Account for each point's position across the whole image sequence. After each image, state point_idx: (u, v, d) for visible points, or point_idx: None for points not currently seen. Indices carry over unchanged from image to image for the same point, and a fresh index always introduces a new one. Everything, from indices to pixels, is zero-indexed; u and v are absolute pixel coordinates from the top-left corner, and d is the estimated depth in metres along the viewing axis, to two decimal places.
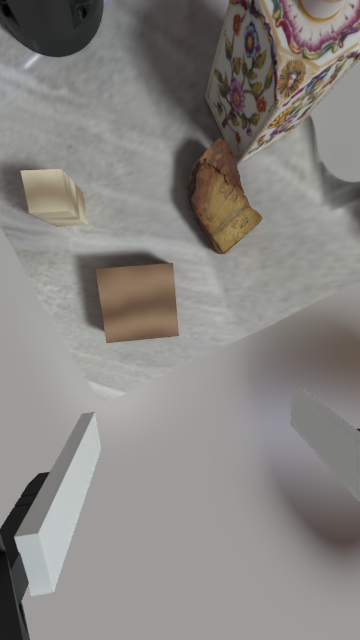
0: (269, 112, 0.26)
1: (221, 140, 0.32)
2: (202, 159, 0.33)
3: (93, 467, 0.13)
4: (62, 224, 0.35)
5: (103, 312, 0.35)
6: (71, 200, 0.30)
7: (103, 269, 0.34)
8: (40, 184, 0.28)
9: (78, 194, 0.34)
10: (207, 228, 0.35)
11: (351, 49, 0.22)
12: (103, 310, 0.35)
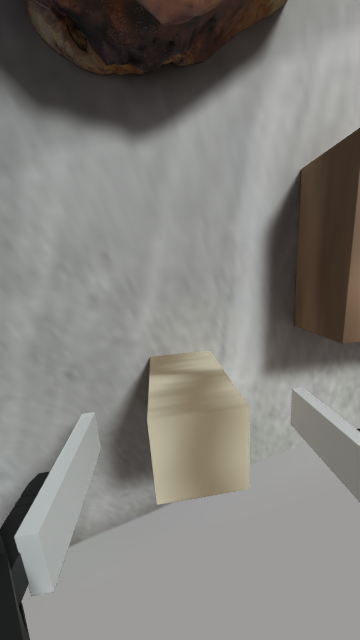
0: None
1: None
2: None
3: (93, 467, 0.13)
4: None
5: None
6: (203, 392, 0.12)
7: (347, 324, 0.14)
8: (185, 467, 0.11)
9: (166, 368, 0.16)
10: None
11: None
12: None
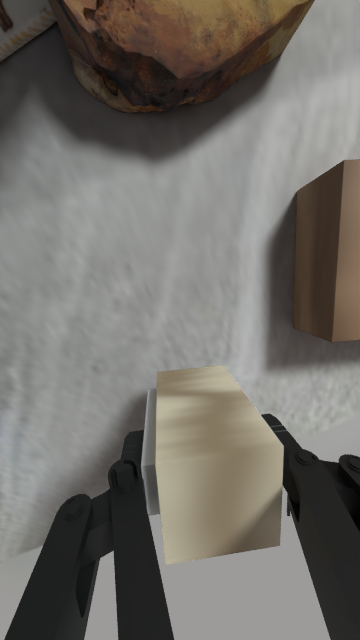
0: None
1: None
2: (87, 22, 0.12)
3: None
4: None
5: None
6: (223, 422, 0.10)
7: (335, 325, 0.16)
8: (201, 519, 0.09)
9: (176, 387, 0.14)
10: (251, 37, 0.13)
11: None
12: None
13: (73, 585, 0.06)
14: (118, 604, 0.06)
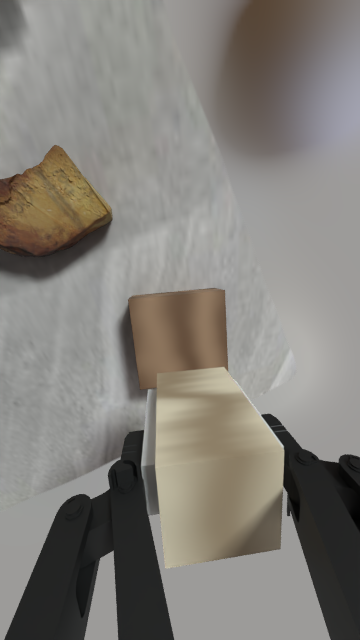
0: None
1: None
2: None
3: None
4: None
5: None
6: (223, 425, 0.10)
7: (140, 381, 0.29)
8: (202, 523, 0.09)
9: (176, 389, 0.14)
10: (74, 235, 0.25)
11: None
12: None
13: (73, 585, 0.06)
14: (118, 604, 0.06)
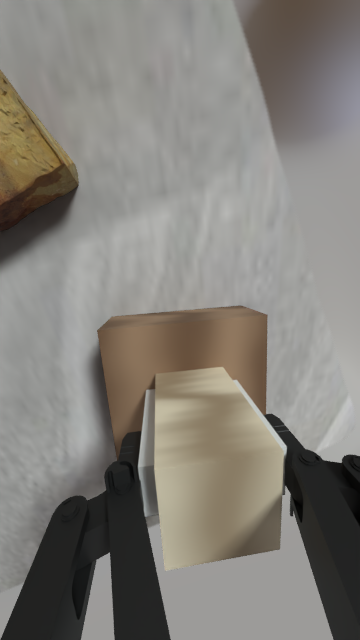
0: None
1: None
2: None
3: None
4: None
5: None
6: (222, 426, 0.10)
7: None
8: (201, 524, 0.09)
9: (174, 389, 0.13)
10: None
11: None
12: None
13: (69, 587, 0.06)
14: (114, 606, 0.06)
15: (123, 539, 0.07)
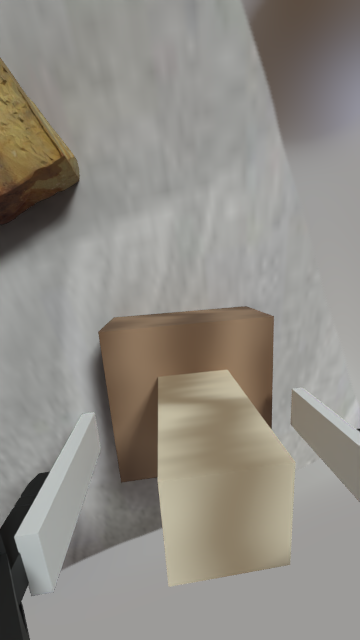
0: None
1: None
2: None
3: (93, 467, 0.13)
4: None
5: None
6: (228, 433, 0.10)
7: (122, 468, 0.17)
8: (207, 539, 0.08)
9: (178, 393, 0.13)
10: None
11: None
12: None
13: None
14: None
15: None
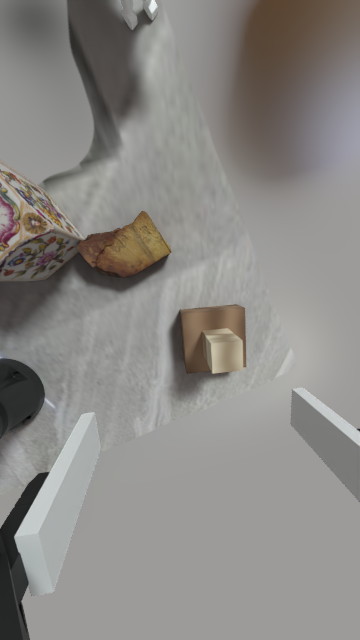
0: (56, 233, 0.30)
1: (78, 246, 0.37)
2: (92, 264, 0.38)
3: (93, 467, 0.13)
4: None
5: None
6: (227, 338, 0.36)
7: (187, 367, 0.43)
8: (222, 360, 0.34)
9: (211, 333, 0.39)
10: (148, 265, 0.40)
11: None
12: None
13: None
14: None
15: None
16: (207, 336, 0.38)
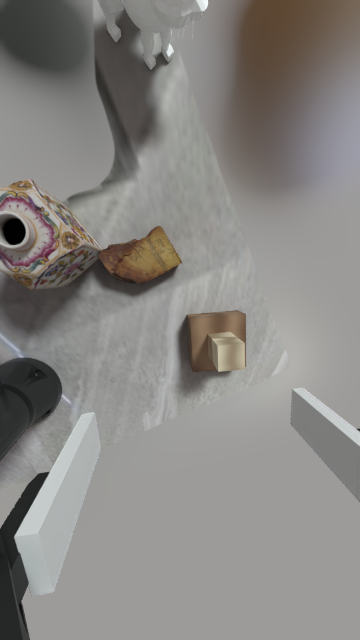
0: (85, 247, 0.35)
1: (100, 255, 0.42)
2: (111, 271, 0.43)
3: (93, 467, 0.13)
4: None
5: None
6: (231, 341, 0.41)
7: (193, 366, 0.48)
8: (226, 360, 0.40)
9: (216, 336, 0.44)
10: (160, 274, 0.44)
11: (41, 199, 0.29)
12: None
13: None
14: None
15: None
16: (213, 339, 0.43)
